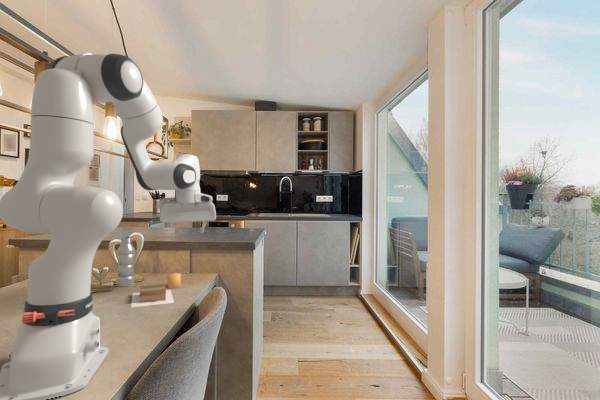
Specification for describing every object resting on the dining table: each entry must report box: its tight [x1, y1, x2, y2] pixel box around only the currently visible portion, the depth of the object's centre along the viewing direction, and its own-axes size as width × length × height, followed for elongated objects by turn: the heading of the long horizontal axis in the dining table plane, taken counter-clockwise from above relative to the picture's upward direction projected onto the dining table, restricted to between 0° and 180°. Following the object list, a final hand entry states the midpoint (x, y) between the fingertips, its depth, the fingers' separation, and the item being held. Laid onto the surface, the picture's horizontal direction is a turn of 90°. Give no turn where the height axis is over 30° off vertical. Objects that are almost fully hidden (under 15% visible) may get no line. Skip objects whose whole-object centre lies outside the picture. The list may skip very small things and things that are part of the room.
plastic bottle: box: [115, 236, 136, 288], centre depth 125 cm, size 6×7×20 cm
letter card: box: [130, 289, 175, 308], centre depth 111 cm, size 16×13×1 cm
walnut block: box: [139, 281, 167, 303], centre depth 111 cm, size 9×8×4 cm
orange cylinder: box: [166, 272, 182, 290], centre depth 125 cm, size 5×5×6 cm
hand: (188, 233), depth 120 cm, fingers open, 8 cm apart
